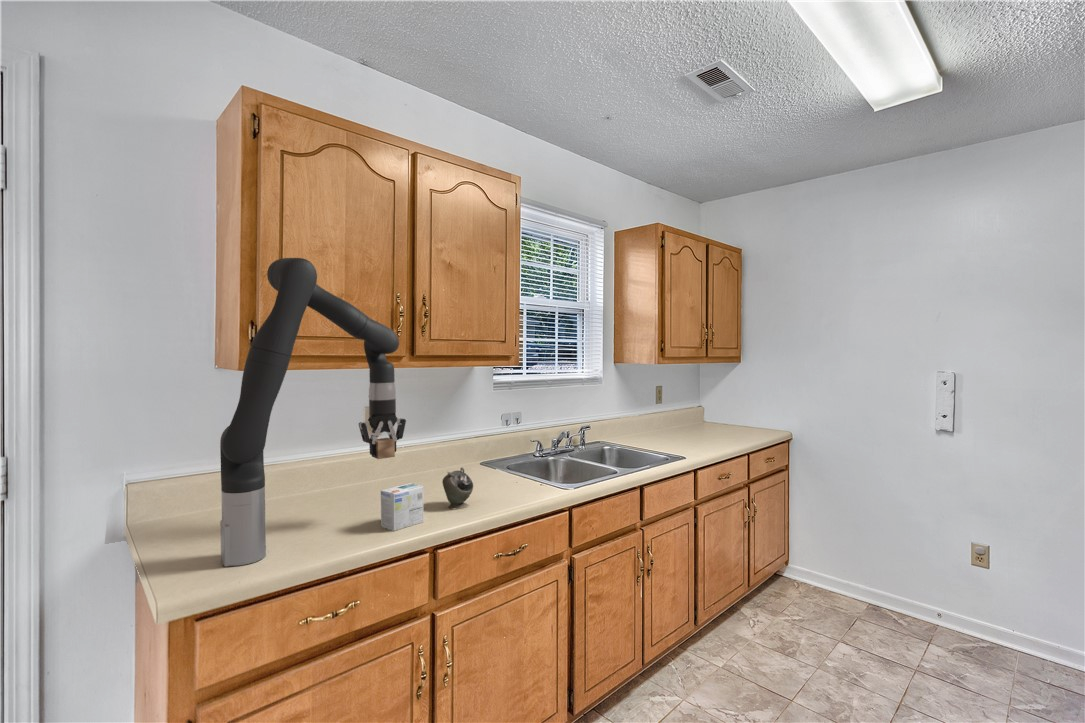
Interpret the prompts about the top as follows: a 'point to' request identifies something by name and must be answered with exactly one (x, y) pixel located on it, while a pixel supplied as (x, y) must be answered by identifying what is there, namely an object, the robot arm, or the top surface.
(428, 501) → the top surface
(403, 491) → the light bulb box
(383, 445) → the walnut cube
